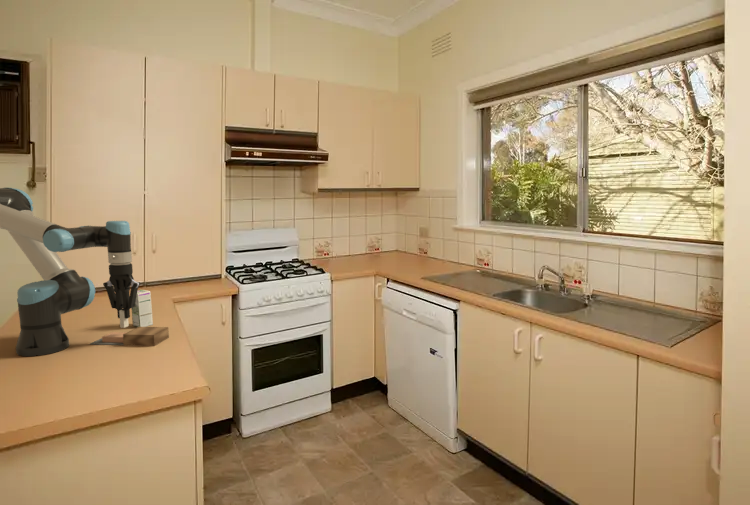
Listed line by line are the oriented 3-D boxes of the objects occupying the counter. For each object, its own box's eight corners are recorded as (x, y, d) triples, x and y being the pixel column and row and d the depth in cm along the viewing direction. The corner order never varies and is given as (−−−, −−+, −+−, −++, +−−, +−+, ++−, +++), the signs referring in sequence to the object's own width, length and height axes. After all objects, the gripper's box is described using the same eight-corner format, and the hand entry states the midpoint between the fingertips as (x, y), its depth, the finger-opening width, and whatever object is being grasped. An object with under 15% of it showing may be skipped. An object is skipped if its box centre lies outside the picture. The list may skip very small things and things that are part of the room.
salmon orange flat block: (102, 342, 170) (101, 336, 170) (112, 337, 176) (112, 332, 176) (126, 342, 169) (125, 337, 169) (135, 337, 175) (135, 332, 175)
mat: (89, 344, 168) (89, 343, 168) (107, 336, 178) (107, 335, 178) (124, 345, 167) (124, 344, 167) (140, 336, 177) (140, 336, 177)
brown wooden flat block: (123, 345, 167) (123, 334, 167) (139, 336, 177) (138, 326, 177) (154, 345, 167) (153, 335, 166) (168, 337, 176) (168, 327, 176)
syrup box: (153, 324, 194) (151, 290, 192) (139, 328, 189) (137, 293, 187) (145, 322, 197) (143, 289, 195) (131, 326, 192) (129, 291, 190)
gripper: (96, 264, 166) (101, 329, 169) (131, 265, 165) (135, 330, 168) (109, 261, 173) (113, 323, 176) (143, 262, 172) (147, 324, 175)
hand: (124, 326), depth 172 cm, fingers closed
